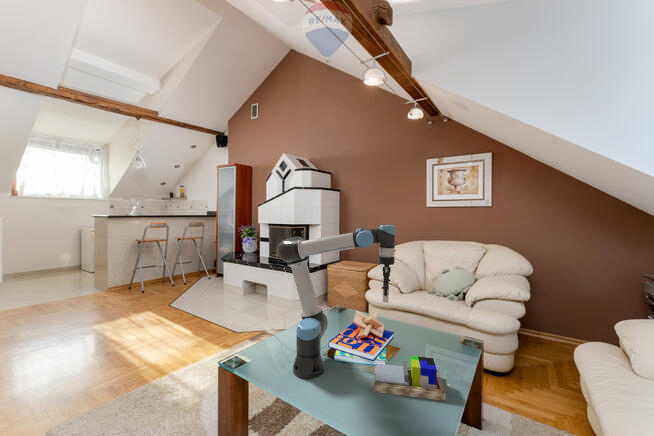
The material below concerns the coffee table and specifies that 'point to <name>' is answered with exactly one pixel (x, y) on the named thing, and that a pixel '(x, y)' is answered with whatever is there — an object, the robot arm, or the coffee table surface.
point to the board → (411, 389)
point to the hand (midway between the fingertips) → (385, 298)
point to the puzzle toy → (423, 372)
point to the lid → (392, 374)
